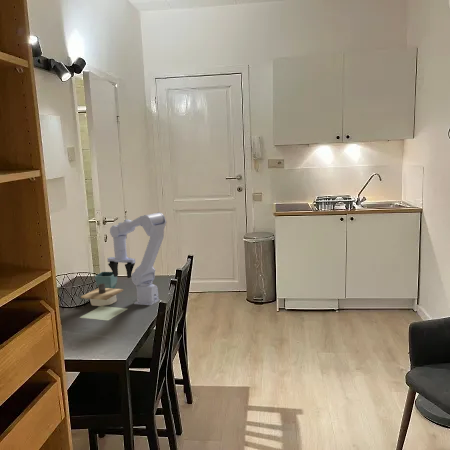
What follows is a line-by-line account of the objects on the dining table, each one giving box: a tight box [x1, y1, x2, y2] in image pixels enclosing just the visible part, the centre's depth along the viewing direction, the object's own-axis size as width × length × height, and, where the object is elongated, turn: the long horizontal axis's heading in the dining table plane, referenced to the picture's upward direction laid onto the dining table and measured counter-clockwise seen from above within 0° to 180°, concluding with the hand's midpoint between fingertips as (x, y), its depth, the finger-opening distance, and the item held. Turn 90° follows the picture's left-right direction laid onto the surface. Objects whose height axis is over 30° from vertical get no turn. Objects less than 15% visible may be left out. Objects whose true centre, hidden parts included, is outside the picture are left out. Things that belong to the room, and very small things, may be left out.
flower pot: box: [94, 271, 118, 289], centre depth 245 cm, size 9×9×9 cm
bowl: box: [89, 295, 118, 307], centre depth 226 cm, size 12×12×4 cm
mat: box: [79, 305, 128, 321], centre depth 211 cm, size 15×15×1 cm
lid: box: [80, 284, 124, 300], centre depth 225 cm, size 14×14×5 cm
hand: (122, 276), depth 231 cm, fingers open, 7 cm apart
